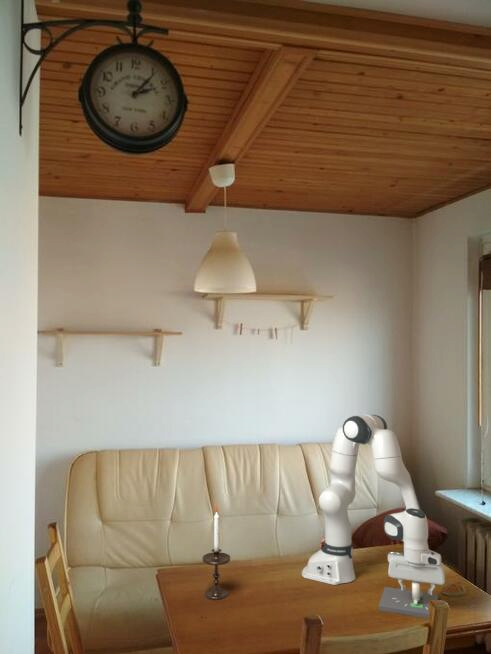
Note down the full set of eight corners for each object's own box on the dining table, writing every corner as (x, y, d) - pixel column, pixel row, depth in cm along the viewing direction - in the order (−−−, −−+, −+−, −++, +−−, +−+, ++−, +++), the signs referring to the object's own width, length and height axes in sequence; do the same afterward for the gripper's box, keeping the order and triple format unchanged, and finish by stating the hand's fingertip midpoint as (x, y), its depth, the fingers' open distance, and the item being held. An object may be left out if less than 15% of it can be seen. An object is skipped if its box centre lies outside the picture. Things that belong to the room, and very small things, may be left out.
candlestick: (196, 595, 213) (197, 504, 215) (216, 586, 221) (216, 498, 223) (215, 603, 205) (216, 509, 207) (235, 594, 213) (236, 503, 215)
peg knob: (413, 593, 210) (413, 574, 211) (423, 595, 209) (423, 575, 209) (410, 604, 201) (410, 584, 201) (420, 606, 199) (420, 585, 200)
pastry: (450, 599, 210) (449, 589, 210) (437, 592, 216) (436, 582, 216) (467, 594, 214) (467, 584, 214) (454, 588, 220) (454, 578, 220)
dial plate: (378, 610, 200) (378, 605, 200) (384, 590, 217) (384, 586, 217) (436, 619, 193) (436, 614, 193) (437, 598, 210) (437, 594, 210)
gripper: (386, 553, 204) (386, 591, 203) (444, 561, 197) (445, 600, 196) (388, 548, 210) (388, 584, 209) (445, 555, 202) (445, 593, 202)
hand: (416, 592), depth 203 cm, fingers open, 8 cm apart
